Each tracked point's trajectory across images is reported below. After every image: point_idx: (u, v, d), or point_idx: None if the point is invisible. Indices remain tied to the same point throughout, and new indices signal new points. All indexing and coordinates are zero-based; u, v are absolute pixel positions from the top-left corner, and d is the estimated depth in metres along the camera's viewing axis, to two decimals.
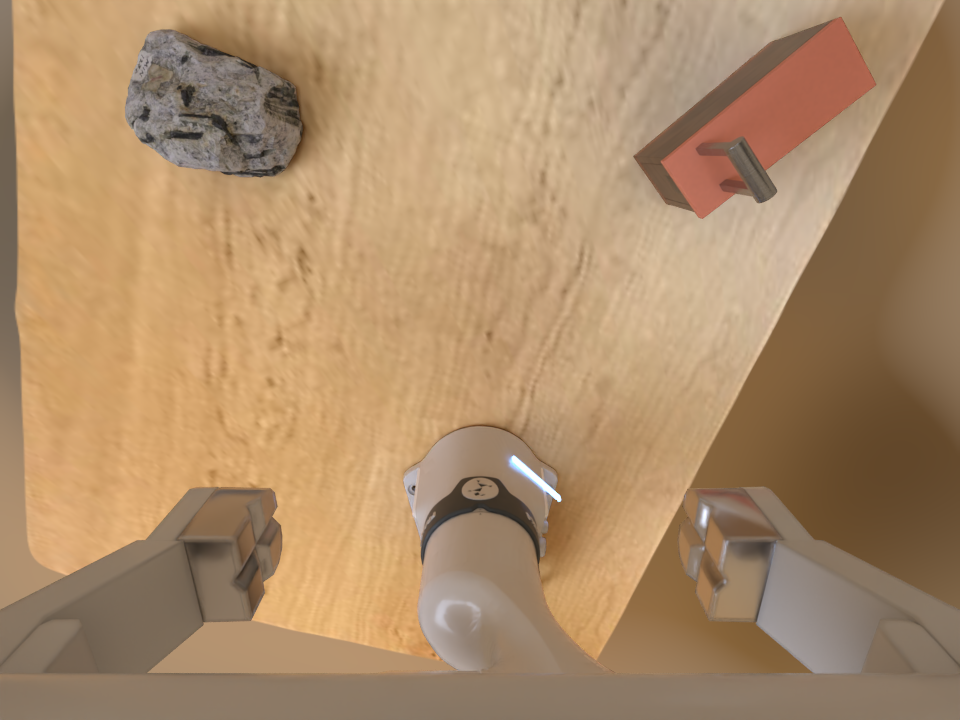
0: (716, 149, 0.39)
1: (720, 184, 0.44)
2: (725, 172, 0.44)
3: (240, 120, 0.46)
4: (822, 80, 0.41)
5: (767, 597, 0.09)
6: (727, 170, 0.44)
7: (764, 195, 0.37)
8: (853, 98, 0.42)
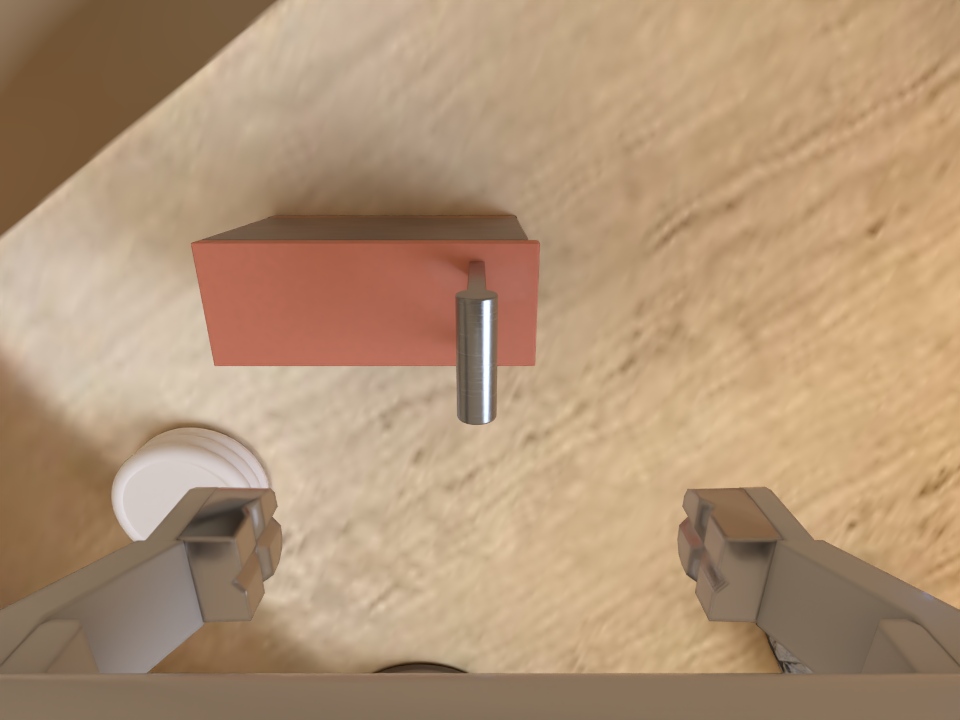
0: None
1: None
2: (464, 286, 0.25)
3: None
4: (268, 307, 0.25)
5: (767, 597, 0.09)
6: (459, 287, 0.25)
7: (486, 311, 0.18)
8: (231, 248, 0.24)
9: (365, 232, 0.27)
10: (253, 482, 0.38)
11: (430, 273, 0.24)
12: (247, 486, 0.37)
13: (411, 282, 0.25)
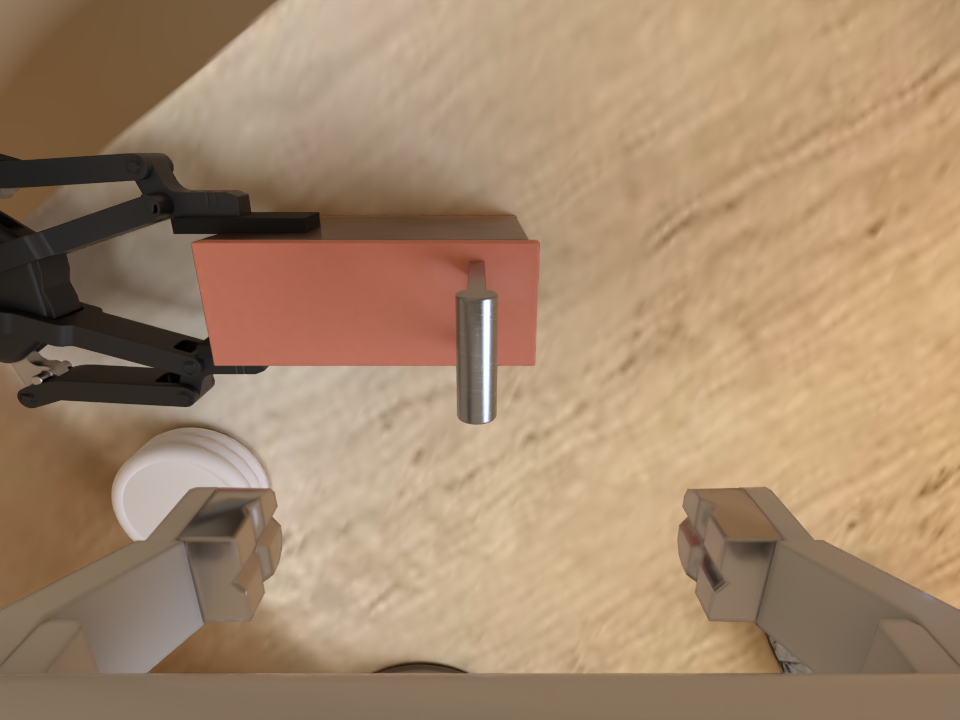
0: None
1: None
2: (464, 286, 0.25)
3: None
4: (268, 306, 0.25)
5: (767, 597, 0.09)
6: (460, 286, 0.25)
7: (486, 311, 0.18)
8: (231, 248, 0.24)
9: (365, 232, 0.27)
10: (253, 482, 0.38)
11: (430, 273, 0.24)
12: (247, 486, 0.37)
13: (411, 282, 0.25)
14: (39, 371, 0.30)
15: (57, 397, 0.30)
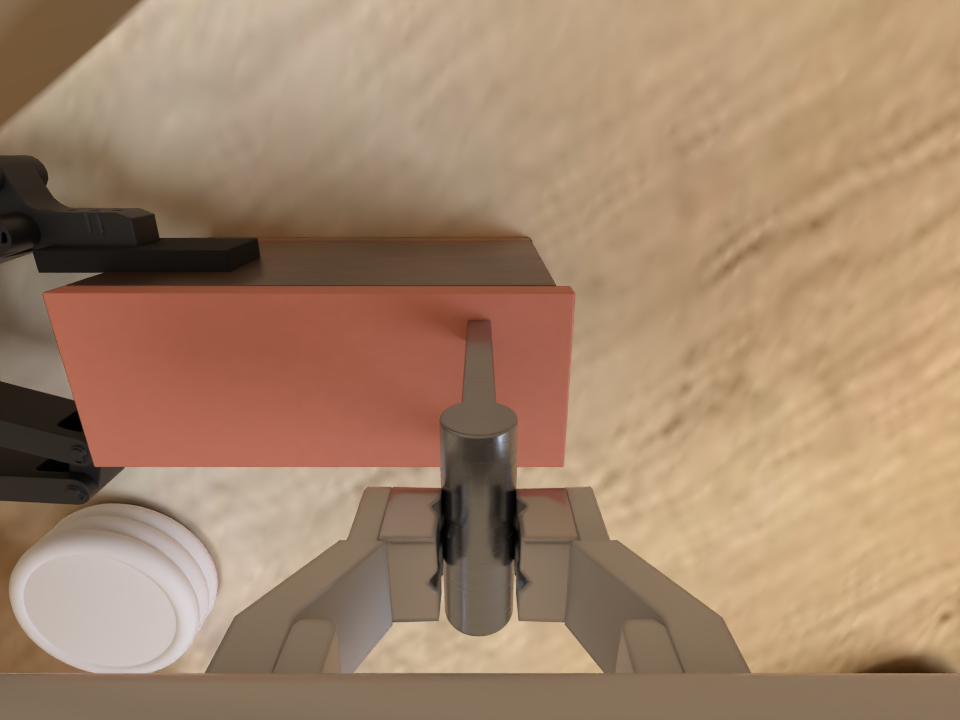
0: None
1: None
2: (460, 356, 0.16)
3: None
4: (167, 385, 0.17)
5: (573, 597, 0.09)
6: (453, 357, 0.16)
7: (496, 455, 0.09)
8: (105, 301, 0.16)
9: (317, 269, 0.19)
10: (192, 575, 0.30)
11: (408, 337, 0.16)
12: (183, 582, 0.29)
13: (381, 350, 0.16)
14: None
15: None
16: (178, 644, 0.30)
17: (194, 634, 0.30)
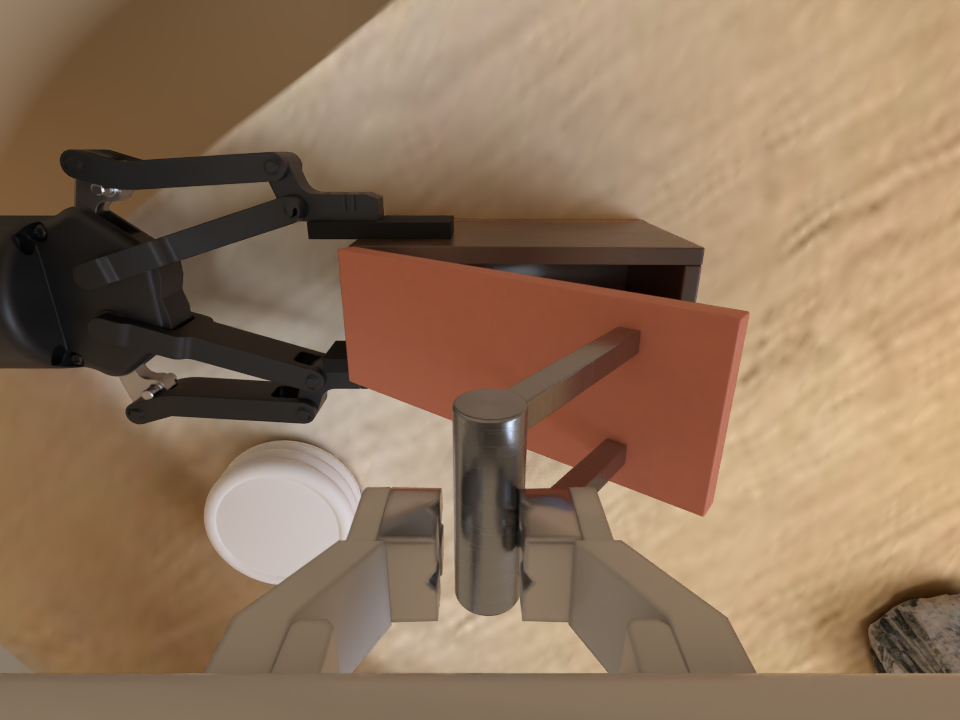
0: None
1: None
2: None
3: None
4: (392, 332, 0.21)
5: (577, 597, 0.09)
6: None
7: (482, 441, 0.10)
8: (367, 260, 0.21)
9: (513, 238, 0.25)
10: (351, 499, 0.36)
11: (562, 332, 0.16)
12: (347, 503, 0.35)
13: (537, 339, 0.17)
14: (148, 385, 0.28)
15: (168, 413, 0.28)
16: None
17: None
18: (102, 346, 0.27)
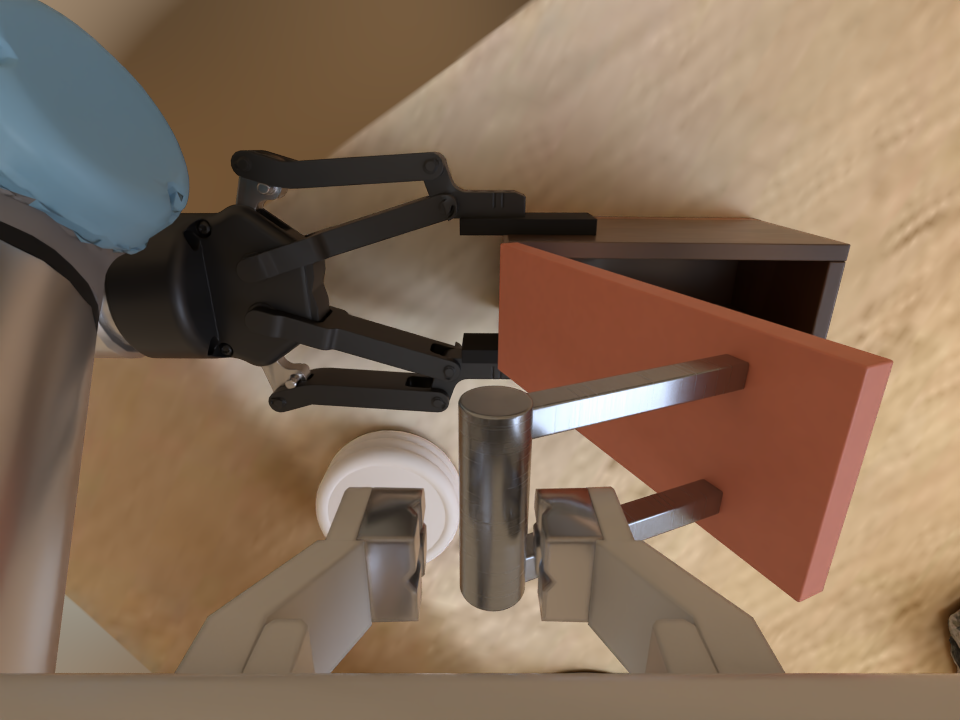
0: None
1: (737, 389, 0.13)
2: None
3: None
4: (532, 327, 0.22)
5: (596, 596, 0.09)
6: None
7: (471, 433, 0.10)
8: (520, 256, 0.22)
9: (654, 234, 0.26)
10: (455, 487, 0.37)
11: (671, 351, 0.15)
12: (454, 491, 0.36)
13: (648, 355, 0.16)
14: (289, 374, 0.30)
15: (308, 401, 0.29)
16: (443, 542, 0.37)
17: None
18: (252, 337, 0.28)
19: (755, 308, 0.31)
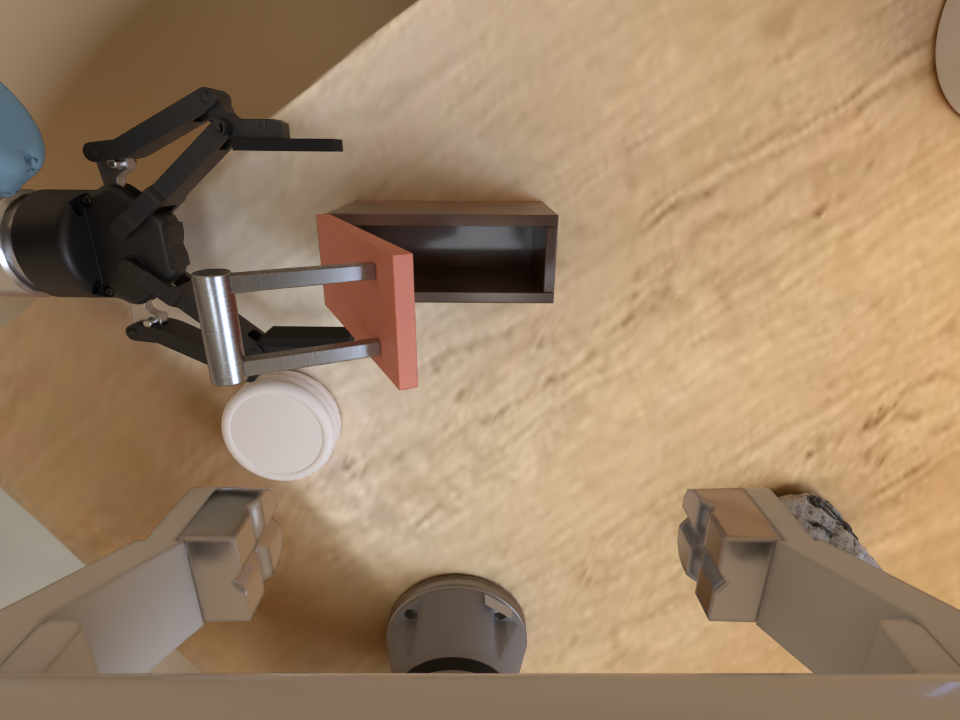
0: (289, 368, 0.23)
1: (371, 279, 0.24)
2: (371, 285, 0.25)
3: None
4: None
5: (767, 597, 0.09)
6: (370, 285, 0.25)
7: (194, 286, 0.21)
8: (322, 222, 0.33)
9: (438, 210, 0.37)
10: (331, 413, 0.48)
11: None
12: (328, 414, 0.47)
13: None
14: (149, 316, 0.40)
15: (156, 340, 0.40)
16: (322, 456, 0.48)
17: (331, 451, 0.49)
18: (131, 282, 0.38)
19: (535, 267, 0.42)
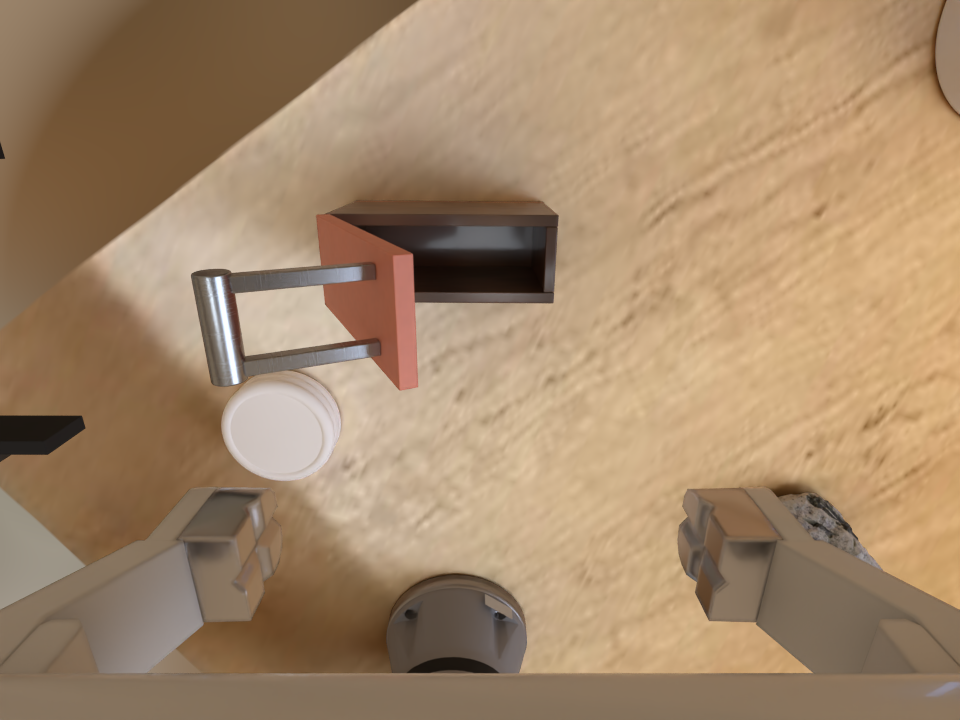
0: (289, 368, 0.23)
1: (371, 279, 0.24)
2: (371, 285, 0.25)
3: None
4: None
5: (767, 597, 0.09)
6: (370, 285, 0.25)
7: (195, 286, 0.21)
8: (322, 222, 0.33)
9: (438, 210, 0.37)
10: (331, 413, 0.48)
11: None
12: (328, 414, 0.47)
13: None
14: None
15: None
16: (322, 456, 0.48)
17: (331, 451, 0.49)
18: None
19: (535, 267, 0.42)
